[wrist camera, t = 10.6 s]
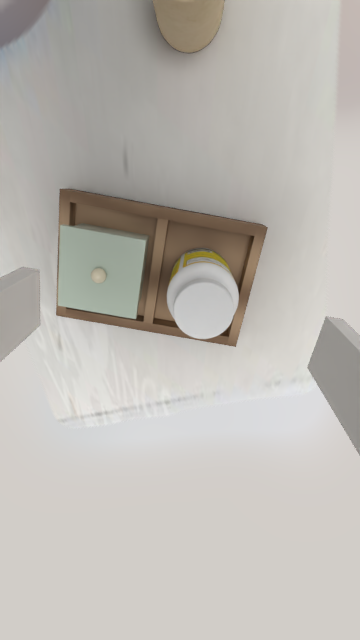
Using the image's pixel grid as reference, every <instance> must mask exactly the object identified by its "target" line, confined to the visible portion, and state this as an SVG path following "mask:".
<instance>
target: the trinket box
mask: <svg viewBox="0 0 360 640" xmlns="http://www.w3.org/2000/svg"><path fill="white" fill-rule="evenodd" d="M149 237H150V235H145V234H139V233H134V232H128V231H123V230H117V229H112V228H106V227H101V226H95V225H90V224H84V223H81V224H78V225H75V226H71V225H66V224H62V225H60V245H59V279H58V306H63V307H68V308H74V309H80V310H85V311H91V312H97V313H103V314H108V315H114V316H120V317H125V318H131V319H136V318H137V313H138V306H139V302H140V300H141V296H142V289H143V281H144V274H145V266H146V259H147V251H148V244H149Z"/></svg>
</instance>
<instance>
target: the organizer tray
mask: <svg viewBox="0 0 360 640" xmlns="http://www.w3.org/2000/svg"><path fill="white" fill-rule="evenodd" d="M81 223H84V224H90V225H95V226H101V227H106V228H112V229H117V230H123V231H128V232H134V233H139V234H145V235H150V237H149V244H148V251H147V259H146V266H145V274H144V281H143V289H142V296H141V300H140V302H139V306H138V313H137V318H136V319H131V318H125V317H120V316H114V315H108V314H103V313H97V312H91V311H85V310H80V309H74V308H68V307H63V306H58V279H59V245H60V225H62V224H66V225H71V226H75V225H78V224H81ZM267 228H268V227H266V226H264V225H262V224H257V223H251V222H246V221H240V220H235V219H230V218H224V217H219V216H213V215H208V214H202V213H197V212H192V211H186V210H181V209H175V208H170V207H165V206H159V205H154V204H148V203H143V202H138V201H132V200H127V199H121V198H116V197H111V196H105V195H100V194H94V193H89V192H84V191H78V190H73V189H60V200H59V236H58V272H57V308H56V315H57V316H62V317H68V318H74V319H80V320H85V321H91V322H97V323H103V324H108V325H114V326H120V327H126V328H131V329H137V330H143V331H149V332H154V333H160V334H166V335H172V336H178V337H183V338H189V339H195V340H201V341H206V342H212V343H218V344H224V345H229V346H235V347H236V343H237V340H238V336H239V332H240V329H241V325H242V321H243V317H244V314H245V310H246V306H247V302H248V299H249V295H250V291H251V287H252V284H253V280H254V276H255V273H256V269H257V265H258V261H259V258H260V254H261V250H262V246H263V243H264V239H265V235H266V231H267ZM195 248H208V249H211V250H213V251H215V252H217V253H218V254H220V255H221V256H222V257H223V258H224V259H225V261H226V263H227V264H228V267H229V269H230V271H231V273H232V276H233V278H234V280H235V282H236V285H237V288H238V293H239V302H238V307H237V309H236V312H235V314H234V316H233V319H232V322H231V324H230V325H229V327H228V328H227V329H226V330H225V331H224V332H223V333H221V334H220V335H218V336H216V337H213V338H209V339H197V338H193V337H191V336H189V335H187V334H185V333H184V332H183V331H182V330H181V329H180V328H179V327H178V325H177V324H176V322H175V319H174V318H173V317H172V315H171V313H170V311H169V308H168V305H167V290H168V285H169V282H170V278H171V274H172V270H173V267H174V265H175V263H176V261H177V260H178V258H179V257H180V256H181V255H182V254H184V253H185V252H187V251H189V250H191V249H195Z"/></svg>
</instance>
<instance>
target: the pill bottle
mask: <svg viewBox="0 0 360 640" xmlns="http://www.w3.org/2000/svg"><path fill="white" fill-rule="evenodd" d="M238 302H239V293H238V288H237V285H236V282H235V280H234V278H233V276H232V273H231V271H230V269H229V267H228V264H227V263H226V261H225V259H224V258H223V257H222V256H221V255H220V254H218V253H217V252H215V251H213V250H211V249H208V248H195V249H191V250H189V251H187V252H185V253H184V254H182V255H181V256H180V257H179V258H178V260H177V261H176V263H175V265H174V267H173V270H172V274H171V278H170V282H169V285H168V290H167V305H168V308H169V311H170V313H171V315H172V317H173V318H174V319H175V322H176V324H177V325H178V327H179V328H180V329H181V330H182V331H183V332H184V333H185V334H187V335H189V336H191V337H193V338H197V339H209V338H213V337H216V336H218V335H220V334H221V333H223V332H224V331H225V330H226V329H227V328H228V327H229V325H230V324H231V322H232V319H233V316H234V314H235V312H236V309H237V307H238Z"/></svg>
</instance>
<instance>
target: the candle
mask: <svg viewBox="0 0 360 640" xmlns="http://www.w3.org/2000/svg"><path fill="white" fill-rule="evenodd" d="M224 2H225V0H153V4H154V9H155V13H156V18H157V22H158V25H159V28H160V31H161V33H162V35H163V37H164V38H165V40H166V41H167V42H168V43H169V44H170V45H171V46H172V47H173V48H175V49H176V50H178V51H181V52H186V53H192V52H196V51H199V50H201V49H203V48H204V47H206V46H207V45H208V44H209V43H210V42H211V41H212V39H213V38H214V36H215V35H216V33H217V31H218V29H219V26H220V23H221V19H222V14H223V8H224Z"/></svg>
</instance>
